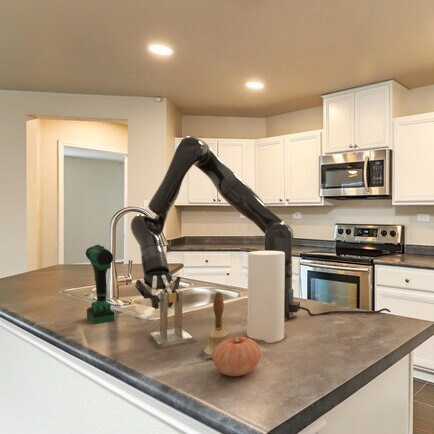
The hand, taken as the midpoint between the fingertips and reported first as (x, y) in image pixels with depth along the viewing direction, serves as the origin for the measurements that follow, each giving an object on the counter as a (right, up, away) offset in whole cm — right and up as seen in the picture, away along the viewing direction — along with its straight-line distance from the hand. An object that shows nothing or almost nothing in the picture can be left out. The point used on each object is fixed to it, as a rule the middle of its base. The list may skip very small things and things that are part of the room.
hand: (163, 306), depth 116 cm
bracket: (+5, -8, -7) cm, 11 cm away
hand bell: (+22, -8, -17) cm, 29 cm away
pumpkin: (+29, -9, -29) cm, 42 cm away
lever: (+2, +2, -3) cm, 4 cm away
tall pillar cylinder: (+32, -8, -4) cm, 33 cm away
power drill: (-30, -7, +16) cm, 35 cm away
